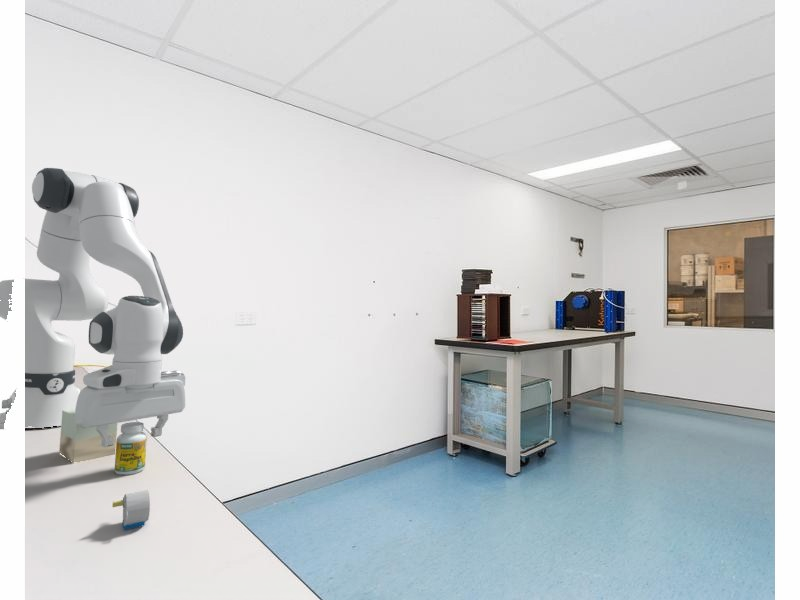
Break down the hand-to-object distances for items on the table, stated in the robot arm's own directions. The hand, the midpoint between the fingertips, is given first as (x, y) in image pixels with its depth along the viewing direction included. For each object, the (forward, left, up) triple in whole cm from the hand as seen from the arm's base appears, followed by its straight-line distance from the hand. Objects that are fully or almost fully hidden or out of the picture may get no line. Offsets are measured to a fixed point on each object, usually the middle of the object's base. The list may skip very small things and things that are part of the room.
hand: (132, 440), depth 90 cm
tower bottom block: (-16, -2, -6) cm, 18 cm away
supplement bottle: (0, 0, -7) cm, 7 cm away
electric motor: (+23, -10, -7) cm, 26 cm away
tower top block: (-17, -2, -1) cm, 17 cm away
